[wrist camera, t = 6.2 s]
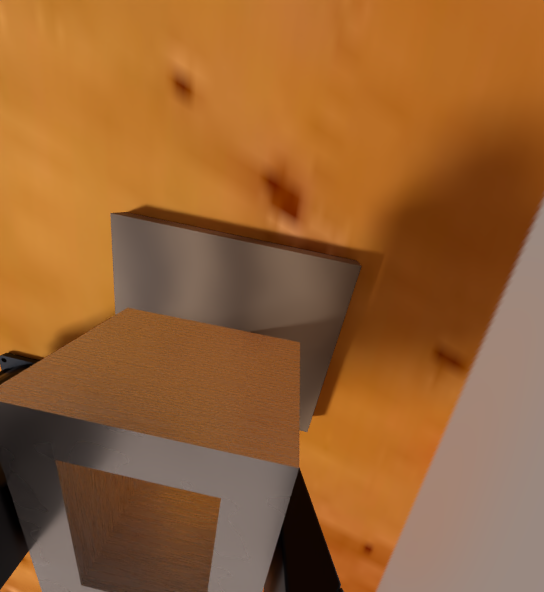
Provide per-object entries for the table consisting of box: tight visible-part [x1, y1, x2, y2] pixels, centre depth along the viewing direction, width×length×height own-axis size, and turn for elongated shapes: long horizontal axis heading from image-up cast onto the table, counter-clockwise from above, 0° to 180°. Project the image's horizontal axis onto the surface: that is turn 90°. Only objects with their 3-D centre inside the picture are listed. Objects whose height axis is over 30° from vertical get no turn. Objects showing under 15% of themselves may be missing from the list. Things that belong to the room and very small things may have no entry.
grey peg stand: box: [111, 212, 361, 432], centre depth 16 cm, size 16×14×8 cm
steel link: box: [0, 308, 300, 592], centre depth 7 cm, size 6×7×4 cm
